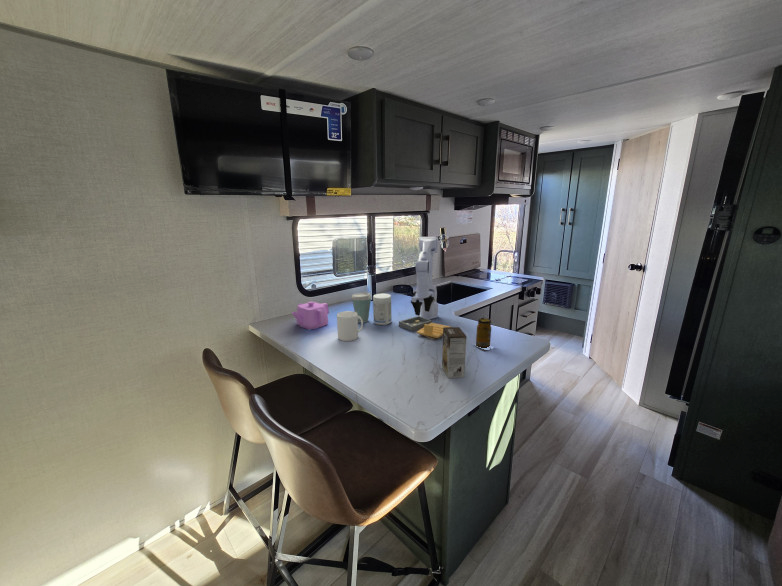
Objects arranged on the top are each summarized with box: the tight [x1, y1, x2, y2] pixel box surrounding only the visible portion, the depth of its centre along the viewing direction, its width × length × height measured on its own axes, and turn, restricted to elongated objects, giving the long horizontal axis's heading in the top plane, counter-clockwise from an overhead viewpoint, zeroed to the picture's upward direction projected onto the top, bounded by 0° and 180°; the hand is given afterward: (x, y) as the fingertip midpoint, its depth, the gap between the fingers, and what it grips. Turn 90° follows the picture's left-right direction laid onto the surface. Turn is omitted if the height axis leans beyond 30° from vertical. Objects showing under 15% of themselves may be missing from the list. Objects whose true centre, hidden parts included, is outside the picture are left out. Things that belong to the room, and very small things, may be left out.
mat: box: [420, 334, 443, 340], centre depth 160 cm, size 14×9×1 cm, turn 128°
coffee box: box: [441, 326, 467, 379], centre depth 120 cm, size 9×6×16 cm
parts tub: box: [398, 315, 433, 333], centre depth 170 cm, size 14×10×3 cm
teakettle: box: [291, 300, 330, 330], centre depth 172 cm, size 17×17×12 cm
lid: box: [416, 322, 451, 339], centre depth 159 cm, size 15×11×6 cm
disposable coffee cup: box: [351, 292, 372, 324], centre depth 176 cm, size 11×11×15 cm
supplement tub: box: [372, 293, 393, 326], centre depth 173 cm, size 10×10×15 cm
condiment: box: [475, 317, 492, 352], centre depth 143 cm, size 7×8×12 cm
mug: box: [336, 310, 364, 342], centre depth 154 cm, size 10×12×12 cm
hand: (422, 313), depth 159 cm, fingers open, 7 cm apart
